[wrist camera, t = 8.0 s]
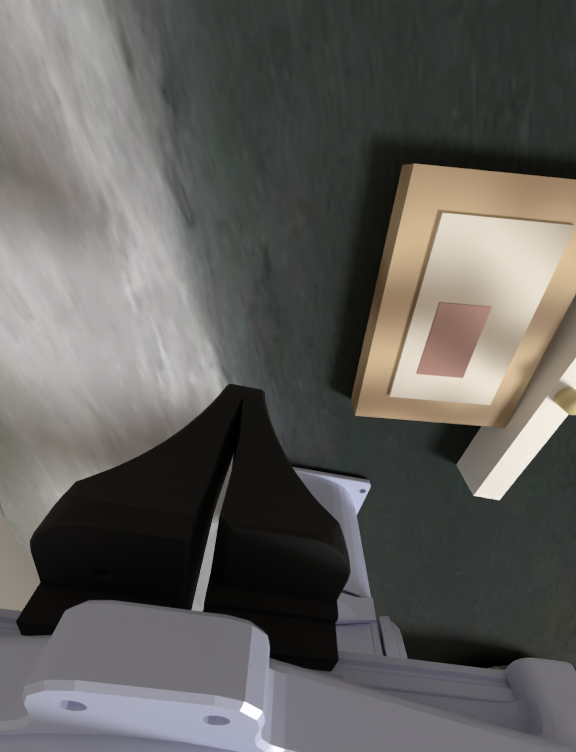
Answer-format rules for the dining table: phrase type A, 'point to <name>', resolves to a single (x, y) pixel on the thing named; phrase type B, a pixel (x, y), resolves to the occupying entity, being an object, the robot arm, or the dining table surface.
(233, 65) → the dining table surface
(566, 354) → the rail
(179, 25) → the dining table surface
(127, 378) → the dining table surface
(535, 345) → the frame
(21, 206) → the dining table surface
